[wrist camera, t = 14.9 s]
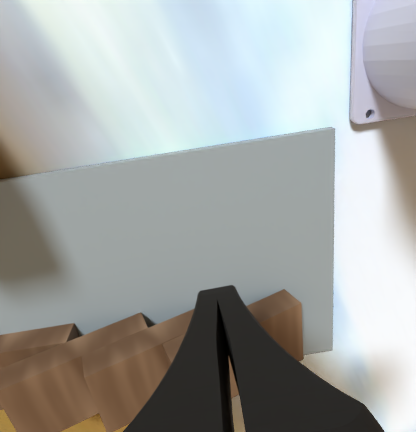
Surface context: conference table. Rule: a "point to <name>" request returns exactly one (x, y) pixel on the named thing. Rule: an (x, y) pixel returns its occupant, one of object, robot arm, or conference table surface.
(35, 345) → the domino
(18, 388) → the domino
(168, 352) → the domino
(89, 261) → the slate mat
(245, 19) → the conference table surface
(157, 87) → the conference table surface
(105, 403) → the domino
